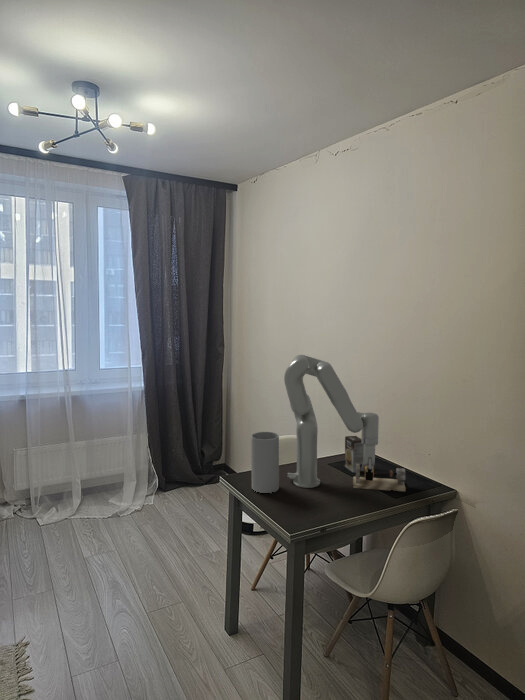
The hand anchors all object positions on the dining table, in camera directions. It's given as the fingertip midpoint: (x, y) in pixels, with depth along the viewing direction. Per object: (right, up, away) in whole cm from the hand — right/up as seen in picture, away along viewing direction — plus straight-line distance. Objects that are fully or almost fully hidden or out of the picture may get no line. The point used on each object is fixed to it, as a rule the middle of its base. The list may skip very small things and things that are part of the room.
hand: (369, 477), depth 214 cm
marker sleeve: (0, +1, 0) cm, 1 cm away
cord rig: (+4, -3, 0) cm, 5 cm away
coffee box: (-3, -1, +20) cm, 20 cm away
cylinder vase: (-48, -4, -4) cm, 49 cm away
